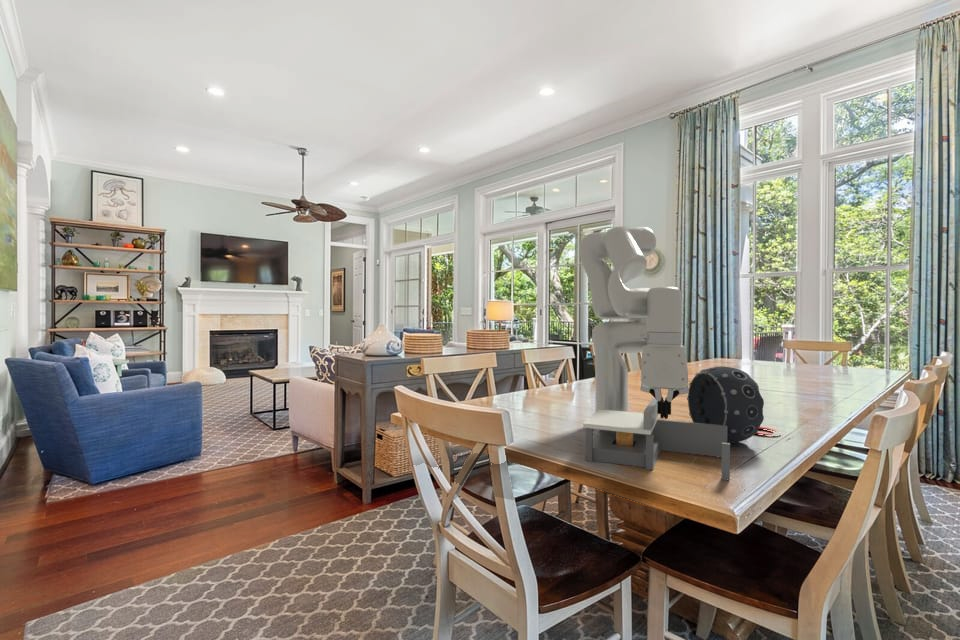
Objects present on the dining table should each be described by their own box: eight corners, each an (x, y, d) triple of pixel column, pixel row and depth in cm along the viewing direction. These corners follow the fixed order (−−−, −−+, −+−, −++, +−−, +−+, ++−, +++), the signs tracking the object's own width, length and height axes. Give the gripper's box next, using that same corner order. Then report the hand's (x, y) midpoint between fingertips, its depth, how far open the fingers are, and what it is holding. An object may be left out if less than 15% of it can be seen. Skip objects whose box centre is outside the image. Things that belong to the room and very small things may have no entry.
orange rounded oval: (615, 451, 118) (616, 423, 118) (632, 453, 116) (633, 424, 116) (615, 455, 114) (616, 426, 114) (632, 457, 113) (633, 428, 113)
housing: (600, 441, 126) (600, 413, 126) (726, 457, 113) (727, 425, 113) (585, 460, 111) (585, 428, 110) (729, 480, 98) (730, 444, 97)
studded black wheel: (728, 453, 116) (728, 372, 115) (683, 432, 135) (684, 362, 135) (768, 451, 117) (769, 371, 116) (718, 430, 137) (719, 362, 136)
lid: (598, 412, 126) (598, 394, 126) (658, 418, 119) (658, 398, 119) (583, 427, 111) (583, 406, 111) (650, 434, 104) (650, 412, 104)
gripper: (629, 340, 110) (629, 418, 110) (699, 341, 104) (699, 423, 104) (632, 338, 117) (633, 411, 117) (699, 339, 111) (699, 416, 111)
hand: (664, 417), depth 111 cm, fingers closed
